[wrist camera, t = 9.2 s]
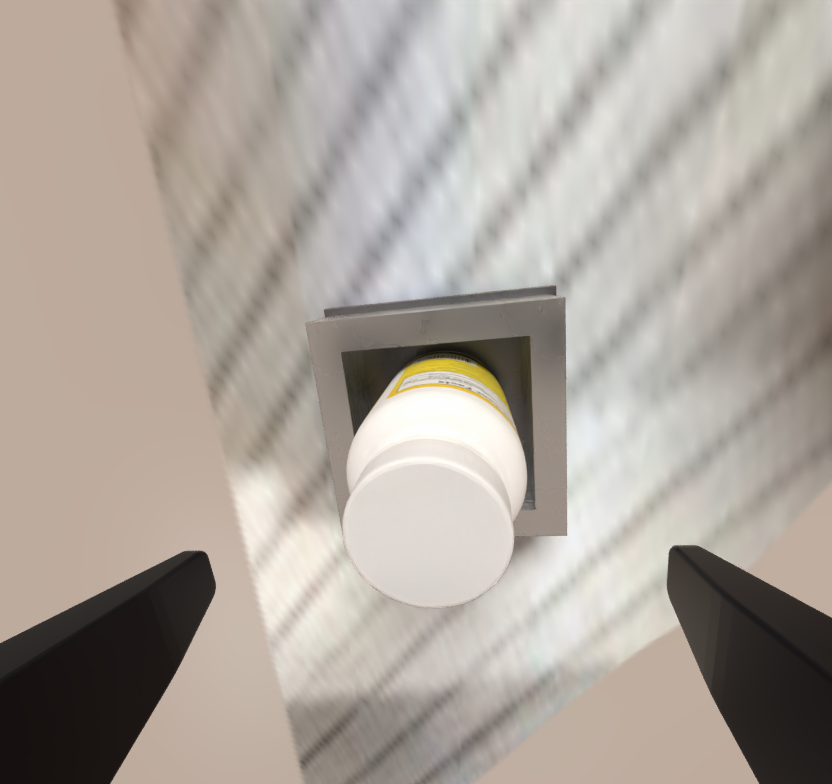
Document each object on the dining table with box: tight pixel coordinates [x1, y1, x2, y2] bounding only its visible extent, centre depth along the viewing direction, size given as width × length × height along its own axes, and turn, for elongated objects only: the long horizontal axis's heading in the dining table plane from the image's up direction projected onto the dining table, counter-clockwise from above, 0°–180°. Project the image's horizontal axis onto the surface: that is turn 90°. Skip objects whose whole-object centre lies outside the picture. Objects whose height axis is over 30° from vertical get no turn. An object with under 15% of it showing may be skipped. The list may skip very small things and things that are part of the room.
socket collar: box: [305, 285, 567, 536], centre depth 17 cm, size 10×10×4 cm
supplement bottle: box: [342, 351, 527, 608], centre depth 14 cm, size 5×5×10 cm
